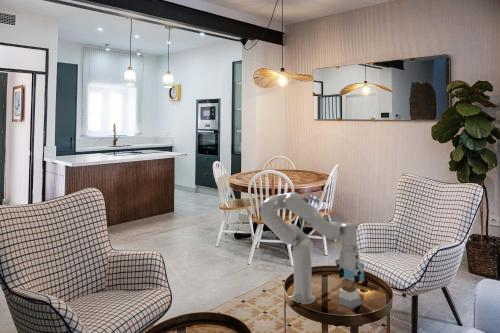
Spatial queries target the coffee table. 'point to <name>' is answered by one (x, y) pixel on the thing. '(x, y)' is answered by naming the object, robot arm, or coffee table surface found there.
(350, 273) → the data package
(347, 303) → the tower base
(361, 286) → the coffee table surface
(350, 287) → the walnut cube
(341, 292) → the tower top
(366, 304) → the coffee table surface
